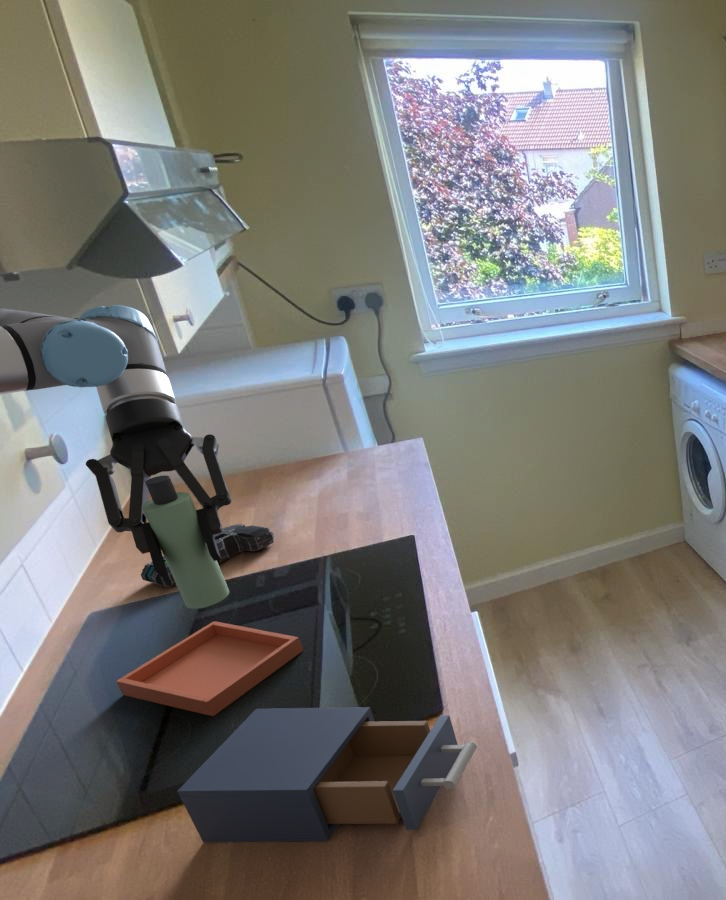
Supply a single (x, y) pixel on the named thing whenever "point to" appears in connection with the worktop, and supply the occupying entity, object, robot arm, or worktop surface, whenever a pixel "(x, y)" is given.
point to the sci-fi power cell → (221, 548)
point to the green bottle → (184, 544)
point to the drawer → (392, 772)
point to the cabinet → (270, 776)
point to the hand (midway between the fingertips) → (188, 564)
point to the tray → (210, 667)
